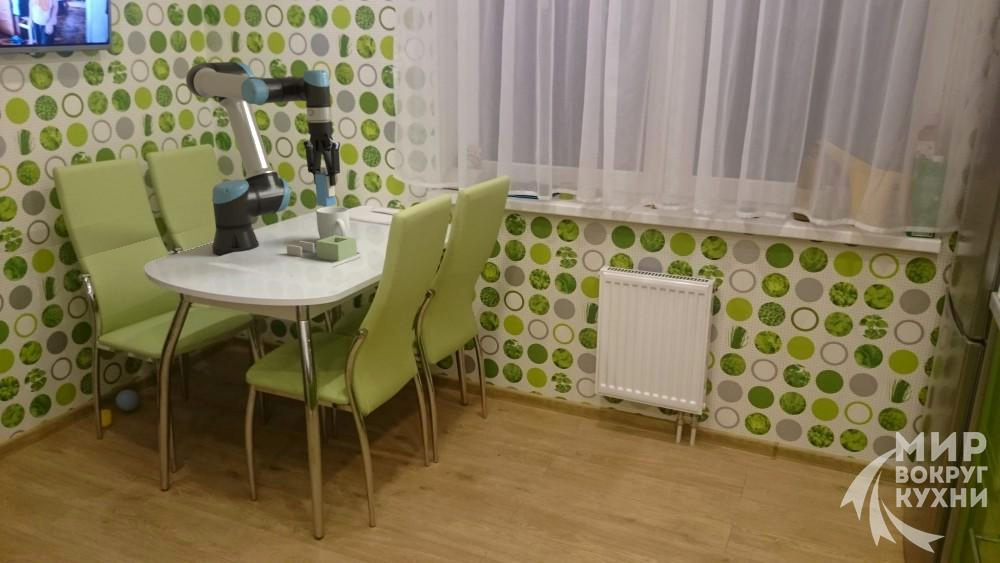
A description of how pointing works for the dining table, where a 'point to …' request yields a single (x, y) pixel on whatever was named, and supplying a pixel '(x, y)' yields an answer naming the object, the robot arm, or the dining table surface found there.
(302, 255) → the panel
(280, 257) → the dining table surface
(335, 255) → the port
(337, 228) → the mug
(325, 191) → the plug
